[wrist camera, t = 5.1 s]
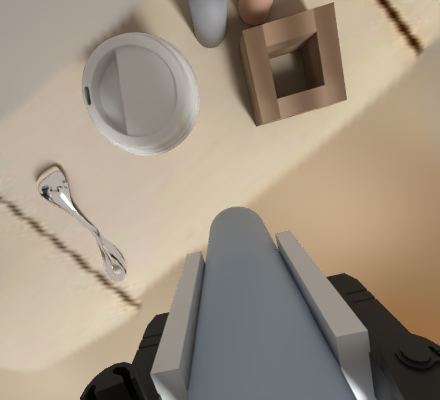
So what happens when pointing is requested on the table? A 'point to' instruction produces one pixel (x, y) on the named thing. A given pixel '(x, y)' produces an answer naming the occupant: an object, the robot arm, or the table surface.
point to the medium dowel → (254, 10)
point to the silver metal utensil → (77, 216)
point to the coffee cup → (141, 93)
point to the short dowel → (209, 21)
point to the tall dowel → (257, 323)
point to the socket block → (312, 58)
